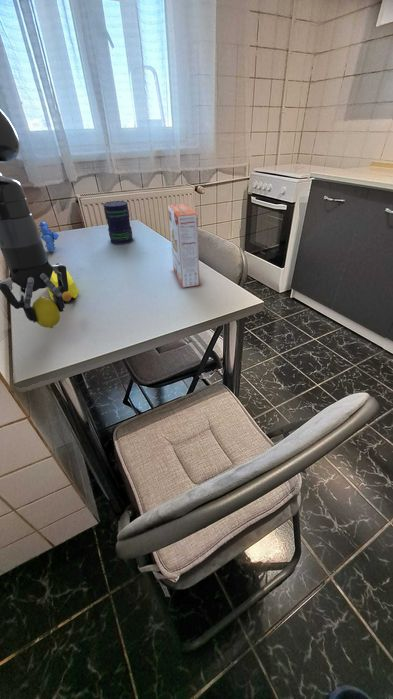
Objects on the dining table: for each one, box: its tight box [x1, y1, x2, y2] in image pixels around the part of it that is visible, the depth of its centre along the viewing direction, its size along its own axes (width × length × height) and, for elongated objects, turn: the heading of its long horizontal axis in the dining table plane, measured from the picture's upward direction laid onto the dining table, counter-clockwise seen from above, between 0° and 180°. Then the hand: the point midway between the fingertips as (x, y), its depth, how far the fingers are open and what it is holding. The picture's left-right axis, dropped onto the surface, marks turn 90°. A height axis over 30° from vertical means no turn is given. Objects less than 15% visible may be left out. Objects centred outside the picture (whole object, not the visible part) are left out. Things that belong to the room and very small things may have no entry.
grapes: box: [38, 220, 60, 253], centre depth 116 cm, size 12×7×12 cm, turn 23°
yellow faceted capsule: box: [46, 269, 80, 302], centre depth 87 cm, size 18×7×8 cm
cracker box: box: [167, 203, 200, 289], centre depth 89 cm, size 14×6×21 cm, turn 14°
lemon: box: [31, 296, 61, 329], centre depth 67 cm, size 6×6×8 cm
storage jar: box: [103, 200, 134, 245], centre depth 124 cm, size 10×10×15 cm
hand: (47, 315), depth 67 cm, fingers closed on lemon, 5 cm apart
